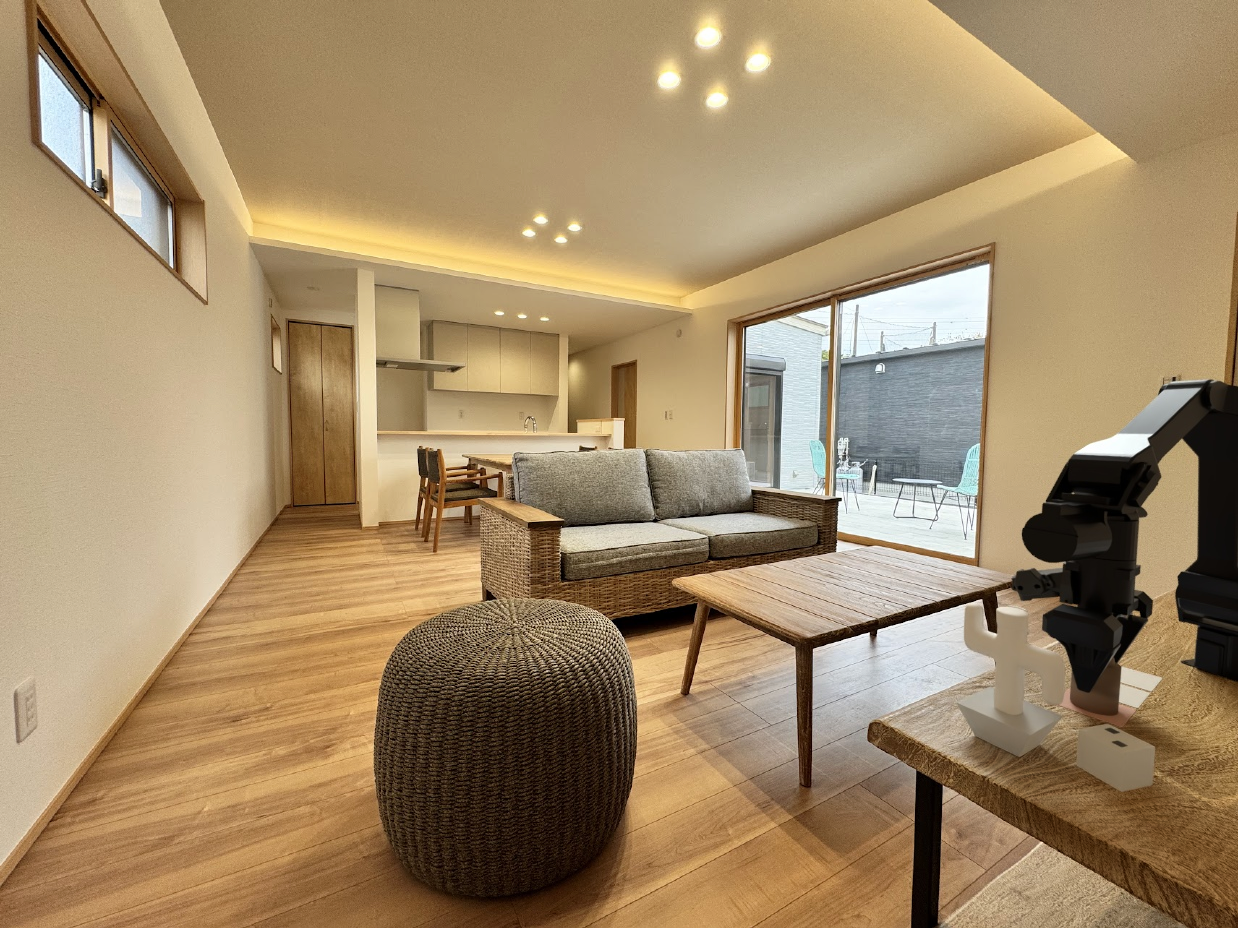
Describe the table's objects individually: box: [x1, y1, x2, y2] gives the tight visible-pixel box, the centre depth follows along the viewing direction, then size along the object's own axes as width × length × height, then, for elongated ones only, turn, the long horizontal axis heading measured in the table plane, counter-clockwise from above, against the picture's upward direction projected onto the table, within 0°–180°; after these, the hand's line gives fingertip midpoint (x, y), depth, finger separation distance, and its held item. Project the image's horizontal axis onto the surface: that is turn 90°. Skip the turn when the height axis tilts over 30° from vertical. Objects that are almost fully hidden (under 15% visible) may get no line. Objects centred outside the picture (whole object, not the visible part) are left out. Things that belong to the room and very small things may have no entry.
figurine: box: [955, 602, 1066, 758], centre depth 57 cm, size 7×9×15 cm
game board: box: [1058, 665, 1164, 728], centre depth 68 cm, size 22×8×1 cm, turn 125°
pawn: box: [1070, 657, 1123, 716], centre depth 63 cm, size 4×4×8 cm
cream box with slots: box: [1075, 723, 1156, 792], centre depth 52 cm, size 4×4×4 cm
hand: (1095, 680), depth 63 cm, fingers open, 9 cm apart
